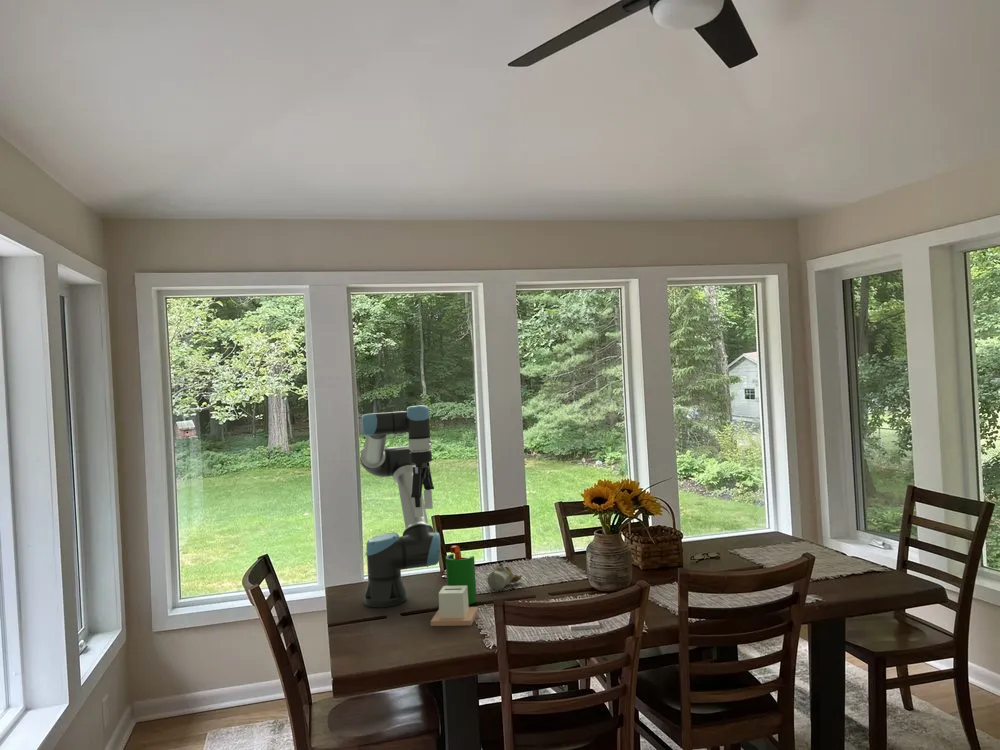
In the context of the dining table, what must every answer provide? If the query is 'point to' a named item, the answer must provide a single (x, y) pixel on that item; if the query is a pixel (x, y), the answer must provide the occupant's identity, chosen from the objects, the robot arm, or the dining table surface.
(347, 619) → the dining table surface
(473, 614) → the base
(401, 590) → the robot arm
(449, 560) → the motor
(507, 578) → the ceramic sculpture
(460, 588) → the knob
